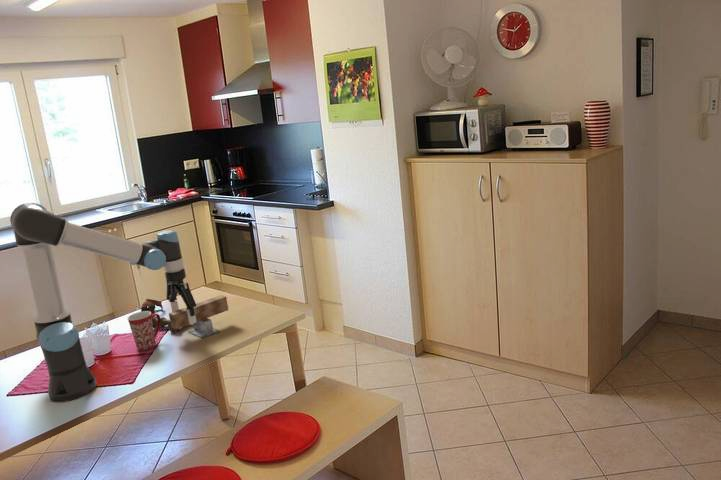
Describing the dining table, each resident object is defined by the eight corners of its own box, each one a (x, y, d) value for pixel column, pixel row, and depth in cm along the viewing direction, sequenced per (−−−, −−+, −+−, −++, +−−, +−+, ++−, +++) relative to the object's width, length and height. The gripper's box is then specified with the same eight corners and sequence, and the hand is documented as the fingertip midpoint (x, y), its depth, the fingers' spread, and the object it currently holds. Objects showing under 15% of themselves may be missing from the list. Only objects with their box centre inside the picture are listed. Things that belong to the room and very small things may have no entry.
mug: (141, 353, 230) (133, 321, 226) (130, 348, 236) (123, 317, 233) (170, 341, 238) (163, 310, 235) (159, 336, 245) (152, 306, 241)
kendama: (163, 323, 261) (200, 324, 253) (148, 333, 253) (186, 334, 245) (159, 311, 260) (197, 311, 252) (144, 320, 251) (183, 320, 243)
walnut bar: (176, 329, 233) (173, 315, 232) (171, 327, 236) (168, 313, 234) (228, 310, 249) (226, 296, 248) (223, 308, 252) (221, 295, 250)
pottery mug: (138, 315, 276) (143, 297, 277) (159, 319, 280) (163, 302, 281) (140, 316, 265) (145, 297, 267) (162, 320, 269) (166, 302, 270)
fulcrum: (202, 338, 237) (199, 324, 236) (188, 332, 246) (185, 318, 244) (219, 331, 242) (217, 317, 241) (205, 325, 251) (202, 312, 249)
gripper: (151, 268, 239) (162, 317, 244) (180, 277, 221) (191, 329, 226) (168, 262, 244) (178, 311, 249) (198, 271, 226) (208, 322, 231)
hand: (184, 320), depth 238 cm, fingers open, 13 cm apart
